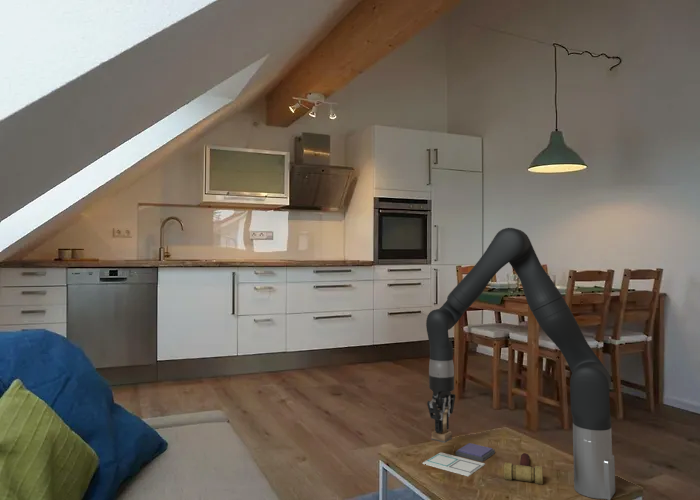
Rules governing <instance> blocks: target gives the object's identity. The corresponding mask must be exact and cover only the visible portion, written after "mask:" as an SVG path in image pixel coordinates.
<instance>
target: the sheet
mask: <svg viewBox="0 0 700 500" xmlns="http://www.w3.org/2000/svg"><path fill="white" fill-rule="evenodd" d="M425 464H426V465H425ZM422 465H425V466H429V467H433V468H436V469H440V470H443V471H447V472H451V473H455V474H457V475H462V476H465V477H470V476H471V475H473V474H474V473H475V472H477V471H478V470H480V469H481V468H483V467H484V466H485V465H486V463H484V462H481V461H477V460H473V459H469V458H465V457H461V456H457V455H452V454H449V453H444V452H442V451H441V452H438V453H437V454H435V455H434V456H432V457H430V458H429V459H426V460H424V461H423V462H422Z"/></svg>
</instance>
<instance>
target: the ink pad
mask: <svg viewBox="0 0 700 500" xmlns="http://www.w3.org/2000/svg"><path fill="white" fill-rule="evenodd" d="M495 452H496V450H495V449H494V448H492V447H487V446H483V445H479V444H475V443H470V442H469V443H467V444H465V445H464V446H462V447H460V448H459V449H457V450H456V451H455V456H457V457H461V458H465V459H469V460H473V461H477V462H481V463H484V462H485V461H486V460H488V459H489V458H490V457H492V456H493V455H494V454H496V453H495Z"/></svg>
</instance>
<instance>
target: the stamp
mask: <svg viewBox="0 0 700 500" xmlns="http://www.w3.org/2000/svg"><path fill="white" fill-rule="evenodd" d="M438 409H441V408H438ZM447 413H448V409H447V408H445V412H444V413H443V419H442V420H443V432H442V433H438V432H436V431H435V430H434V431H432V432H431V441H436V442H439V443H444V444H445V443H447V442H449V441H450V440H452V439H453V432H452V431H450V430H448V429H447ZM439 416H440V413H439Z"/></svg>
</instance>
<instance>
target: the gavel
mask: <svg viewBox="0 0 700 500" xmlns="http://www.w3.org/2000/svg"><path fill="white" fill-rule="evenodd" d="M543 472H544V470H543V466H539V465H534V467H532V466H530V455H529V454H528V453H522V454H520V460H519V464H513V463H512V462H504V465H503V475H504V476H503V477H504V480H505V481H513V480H515V481H520V482H529V483H532V482H533V483H535V484H536V485H540V486H541V485H543V484H544V473H543Z"/></svg>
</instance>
